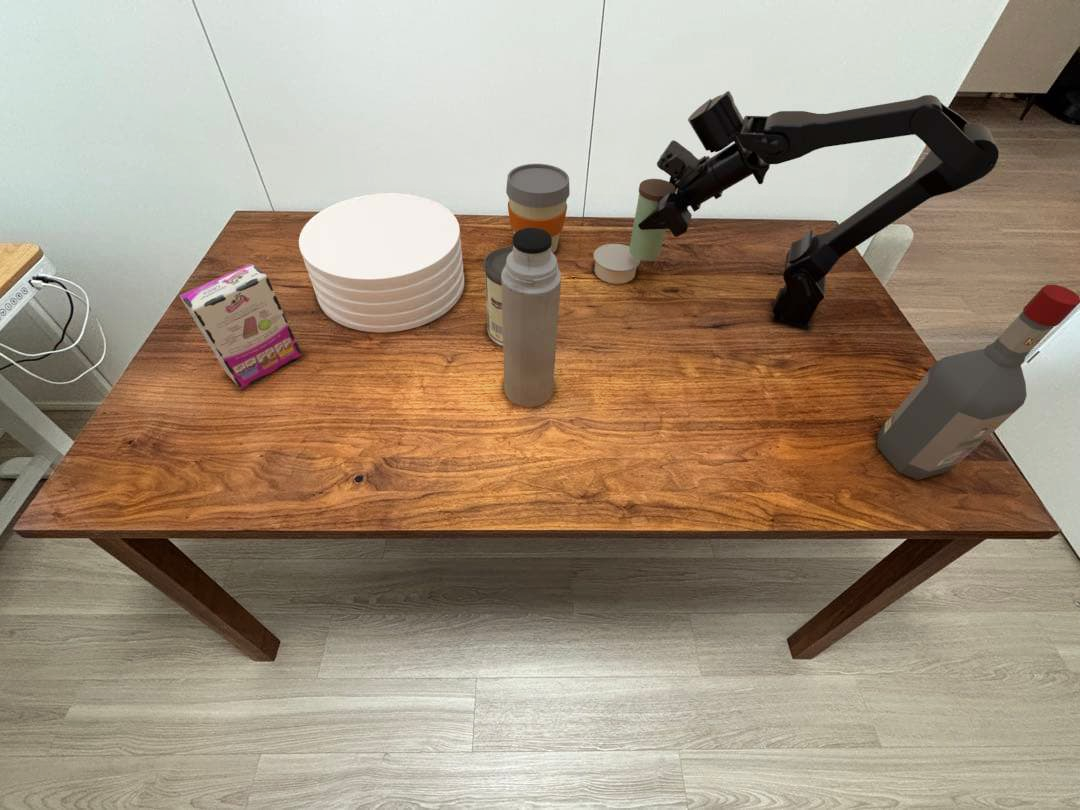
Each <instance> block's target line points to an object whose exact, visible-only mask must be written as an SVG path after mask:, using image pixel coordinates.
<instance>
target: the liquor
mask: <svg viewBox="0 0 1080 810" xmlns="http://www.w3.org/2000/svg"><path fill="white" fill-rule="evenodd" d="M1079 305H1080V296H1079V295H1078V294H1077V293H1076V292H1075V291H1073V290H1072V289H1069V288H1068V287H1065V286H1062V285H1058V284H1046V285H1044V286H1042V287H1041V289H1040V290H1038V292H1037V293H1036V294H1035V295H1034V296H1033V297H1032V298H1031V299H1030V301H1028V303H1027V304H1026V305H1025V306H1024V307H1023V308H1022V312H1021V313H1020V314H1019V315H1018V316H1017V317H1016V318H1015V319H1014V320H1013V321H1012V323H1010V324H1009V326H1008V327H1007V328H1006V329H1005V330H1004V331H1003V332H1002V333H1001V334H1000V335H999V336H998V337H997V338H996V339H995V340H994V341H993V342H992V343H990V344H988V345H986V347H985V348H981V349H976V350H975V349H974V350H971V351H966V352H960V353H957V354H953V355H949V356H944V357H942V358H940V359H938V360H937V361H935V362H934V363H933V364H932V366H931V367H930V368H929V369H928V370H927V372H926V373H925V374H924V375H923V377H922V378H921V379H920V380H919V381H918V383H916V385H915V386H914V388H913V389H912V390H911V391H910V393H908V395H907V396H906V398H904V400H903V401H902V402H901V403H900V404H899V406H898V407H897V408H896V410H895V411H894V412H893V413H892V414H891V416H889V418H888V419H887V420H886V421H885V423H884V424H883V425H882V426H881V427H880V429H879V430H878V432H877V439H876V448H877V450H879V452H880V453H881V454H882V455H883V457H885V459H886V460H887V461H888V462H889V463H890V464H891V466H892V468H894V469H895V470H896V471H897V472H898V474H901V475H903V476H906V477H909V478H911V479H914V480H916V481H918V480H923V479H926V478H930V477H934V476H937V475H942V474H944V473H949V472H951V471H952V470H954V469H955V468H956V467H957V466H958V465H959V464H960V463H961V462H962V461H964V460H965V458H967V457H968V456H969V455H971V453H972V452H973V451H975V450H976V448H978V446H980V445H981V444H982V443H983V442H984V441H985V440H986V439H987V438H988V437H990V435H992V434H993V433H994V432H995V431H996V430H997V429H998V428H999V427H1000V426H1001V425H1003V423H1005V422H1006V421H1007V420H1008V419H1009V418H1010V417H1011V416H1013V415H1014V414H1015V413H1016V412H1017V411H1018V410H1019V409H1020V408H1021V407H1023V405H1024V404H1025V401H1026V399H1027V396H1028V395H1027V385H1026V379H1025V376H1024V371H1023V369H1022V364H1023V363H1025V360H1026V357H1027V356H1028V355H1029V354H1030V353H1031V352H1032V350H1033V349H1035V347H1037V345H1039V343H1040V342H1041V341H1042V340H1043V339H1044V338H1045V337H1046V336H1047V335H1048V334H1049V333H1050V332H1051V331H1052V330H1053V329H1054V328H1055V327H1057V326H1058V325H1060V324H1061V323H1062V322H1063V321H1065V319H1066V318H1067V317H1068V316H1069V315H1070V314H1071V313H1072V312H1073V311H1074V310H1075V309H1076V308H1077V307H1078V306H1079Z"/></svg>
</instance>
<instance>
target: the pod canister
mask: <svg viewBox="0 0 1080 810" xmlns="http://www.w3.org/2000/svg"><path fill="white" fill-rule="evenodd" d="M675 192H676V188H675V186H674V185H673V184H672V183H670V182H669V180H668V181H667V180H665V179H661V178H647V179H644V180H642V181H641V182H640V183H639V186H638V198H637V204H636V209H635V215H634V218H633V219H634V220H633V225H632V231H631V237H630V240H629V241H630V242H629V252H630V254H631V255H632V256H634V257H635V258H638V259H641V260H642V261H652V260H656V259H657V258H659V257H660V254H661V250H662V246H663V242H664V239H665V238H664V237H665V234H666V230H667V229H650V230H641V229H640V228H639V227H638V224H639V223H640V222H641V221H643V220H644V219H645V218H646V217H647V216H648V215H650V214H651V213H652V212H653V211H654V210H655V209H657V204H658V201H659V199H660V197H661V195H662V196H663V197H664V196H665V195H667V194H669V193H675Z"/></svg>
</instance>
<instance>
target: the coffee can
mask: <svg viewBox="0 0 1080 810" xmlns="http://www.w3.org/2000/svg"><path fill="white" fill-rule="evenodd" d="M512 251H513V245H510V246H503V247H500V248H497V249H494V250H493V251H490V252H489V253H488V254H487V255H486V256H485V258H484V260H483V272H484V282H485V284H484V285H485V301H486V302H485V303H486V319H487V334H488V336H489V339H490V340H491V341H493V342H494V343H496V344H497V345H499V346H501V347H503V322H502V285H501V275H502V271H503V269H504V267H505V265H506V260H507V256H508V255H509V254H510V252H512Z"/></svg>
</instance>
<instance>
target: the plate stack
mask: <svg viewBox="0 0 1080 810" xmlns="http://www.w3.org/2000/svg"><path fill="white" fill-rule="evenodd" d="M298 247H299V248H298V249H299V251H300V254H301V256H302V259H303V261H304V266H305V268H306V270H307V273H308V276H309V279H310V282H311V284H312V288H313V290H314V294H315V297H316V300H317V303H318V304H319V307H320V308H321V310H322V311H323V313H324V314H325V315H326V316H327V317H328V318H329V319H330V320H332V321H334V322H335V323H337V324H339V325H341V326H344V327H346V328H349V329H352V330H356V331H361V332H367V333H395V332H402V331H407V330H412V329H414V328H419V327H422V326H425V325H426V324H429V323H431V322H433V321H435V320H437V319H439V318H441V317H442V316H444V315H445V314H447V313H448V312H449V311H450V310H451V309H452V308H453V307H454V306H455V305H456V304H457V303H458V301H459V300H460V299H461V296H462V295H463V292H464V289H465V273H464V262H463V252H462V240H461V229H460V224H459V221H458V218H457V217H456V216H455V214H454V213H453V212H452V211H451V210H450V209H449V208H447V207H446V206H444V205H443V204H441V203H439V202H437V201H435V200H432V199H429V198H427V197H423V196H419V195H415V194H409V193H395V192H389V193H387V192H386V193H385V192H383V193H371V194H366V195H360V196H356V197H355V196H354V197H351V198H348V199H345V200H342V201H338V202H337V203H334V204H332V205H329V206H328V207H326V208H324V209H322V210H321V211H319V212H318V213H316V214H315V215H314V216H312V217H311V218H310V219H309V220H308V221H307V222H306V223H305V224H304V226H303V228H302V229H301V231H300V233H299V237H298Z"/></svg>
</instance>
